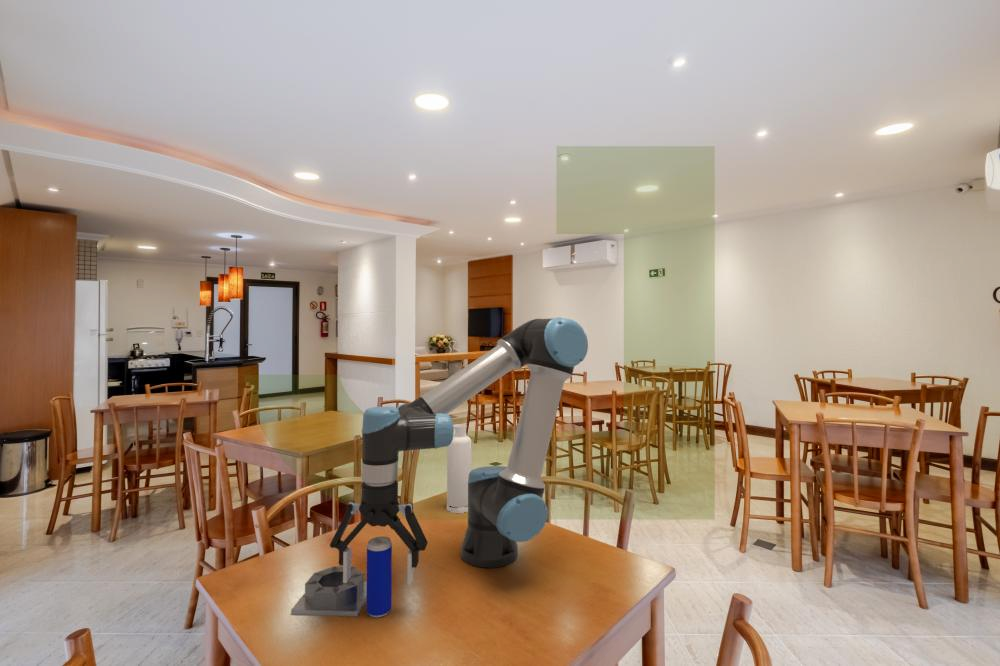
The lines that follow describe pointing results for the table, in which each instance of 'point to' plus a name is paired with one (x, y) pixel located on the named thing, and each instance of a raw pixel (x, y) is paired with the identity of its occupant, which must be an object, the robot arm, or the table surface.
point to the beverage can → (379, 576)
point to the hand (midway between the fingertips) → (378, 581)
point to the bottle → (458, 470)
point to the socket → (333, 594)
